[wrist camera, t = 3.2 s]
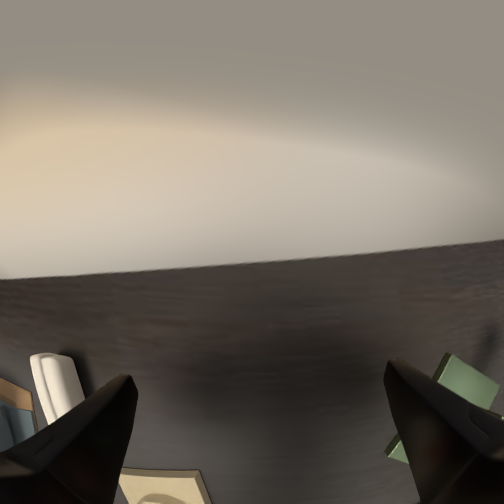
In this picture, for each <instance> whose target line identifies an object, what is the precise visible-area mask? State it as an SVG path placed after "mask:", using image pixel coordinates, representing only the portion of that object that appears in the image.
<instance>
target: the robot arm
mask: <svg viewBox="0 0 504 504" xmlns="http://www.w3.org/2000/svg"><path fill="white" fill-rule="evenodd" d="M384 385H385V389H386V393H387V397H388V401H389V405H390V409H391V413H392V417H393V420H394V423H395V425H396V428H397V431H398V433H399V436H400V439H401V442H402V445H403V447H404V450H405V453H406V456H407V459H408V462H409V465H410V468H411V471H412V474H413V477H414V480H415V483H416V487H417V490H418V493H419V496H420V500H421V503H422V504H504V420H503V419H501V418H498V417H496V416H494V415H492V414H490V413H488V412H486V411H485V410H483V409H481V408H479V407H478V406H476V405H474V404H473V403H471V402H469V401H468V400H466V399H464V398H463V397H461V396H460V395H458V394H456V393H455V392H453V391H451V390H450V389H448V388H447V387H445V386H443V385H442V384H440V383H438V382H437V381H435V380H434V379H432V378H430V377H429V376H427V375H426V374H424V373H422V372H421V371H419V370H418V369H416V368H414V367H413V366H411V365H410V364H408V363H406V362H405V361H403V360H402V359H400V358H396V359H391V360H389V361H388V362H387V366H386V370H385V373H384ZM137 400H138V390H137V388H136V385H135V383H134V381H133V379H132V377H131V376H130V375H127V374H119V375H118V376H116V377H115V378H114V379H112V380H111V381H110V382H108V383H107V384H105V385H104V386H103V387H101V388H100V389H99V390H97V391H96V392H94V393H93V394H92V395H90V396H89V397H88V398H86V399H85V400H83V401H82V402H81V403H79V404H78V405H76V406H75V407H74V408H72V409H71V410H70V411H68V412H67V413H65V414H64V415H62V416H61V417H60V418H58V419H57V420H55V422H53V423H51V424H50V425H48V426H47V427H45V428H44V429H42V430H41V431H39V432H38V433H36V434H34V435H33V436H31V437H29V438H28V439H26V440H24V441H22V442H20V443H19V444H17V445H15V446H13V447H11V448H9V449H7V450H5V451H2V452H0V504H113V502H114V498H115V494H116V490H117V485H118V481H119V477H120V474H121V470H122V466H123V462H124V458H125V455H126V451H127V447H128V444H129V440H130V437H131V433H132V429H133V424H134V418H135V412H136V406H137Z"/></svg>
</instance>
